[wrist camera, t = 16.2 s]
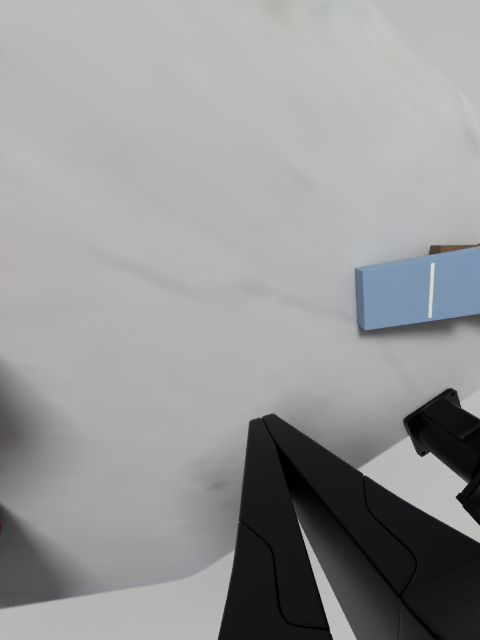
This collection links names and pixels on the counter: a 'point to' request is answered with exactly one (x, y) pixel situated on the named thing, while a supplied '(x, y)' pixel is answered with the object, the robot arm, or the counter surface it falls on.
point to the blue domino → (419, 289)
